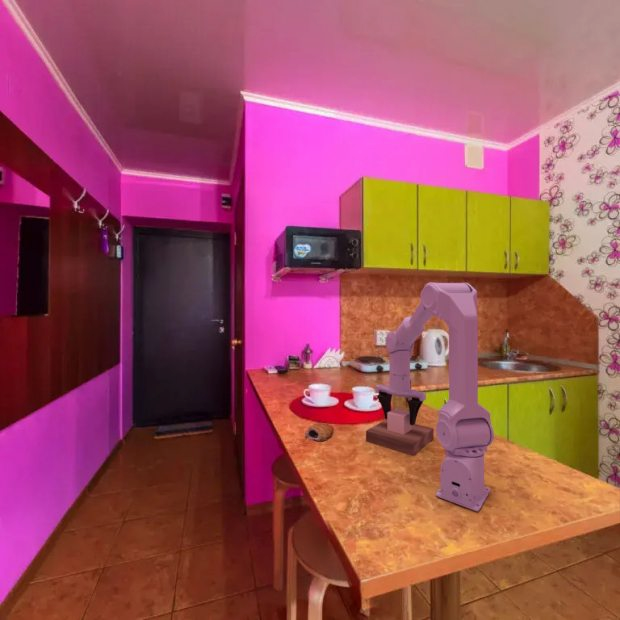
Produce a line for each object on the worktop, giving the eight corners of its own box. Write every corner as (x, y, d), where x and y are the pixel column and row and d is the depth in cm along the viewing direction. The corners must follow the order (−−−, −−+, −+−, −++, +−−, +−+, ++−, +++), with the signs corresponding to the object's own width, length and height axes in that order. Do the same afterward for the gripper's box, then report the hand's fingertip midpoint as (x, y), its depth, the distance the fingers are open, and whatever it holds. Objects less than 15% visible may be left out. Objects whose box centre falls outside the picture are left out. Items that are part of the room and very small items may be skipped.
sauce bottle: (409, 422, 108) (408, 362, 108) (390, 418, 111) (390, 360, 111) (413, 416, 113) (413, 359, 113) (395, 413, 117) (395, 358, 116)
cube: (403, 434, 90) (403, 416, 90) (387, 430, 93) (387, 412, 93) (411, 429, 93) (411, 412, 93) (395, 425, 97) (395, 408, 97)
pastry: (321, 428, 103) (321, 416, 103) (339, 433, 99) (339, 421, 99) (303, 438, 96) (303, 425, 96) (322, 444, 92) (322, 430, 92)
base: (413, 455, 84) (412, 443, 84) (366, 441, 93) (365, 430, 93) (433, 438, 94) (433, 428, 94) (389, 427, 103) (389, 417, 103)
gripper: (430, 375, 91) (430, 423, 92) (383, 368, 101) (384, 412, 101) (419, 379, 86) (420, 430, 86) (372, 372, 96) (372, 418, 96)
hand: (399, 421), depth 93 cm, fingers open, 7 cm apart
